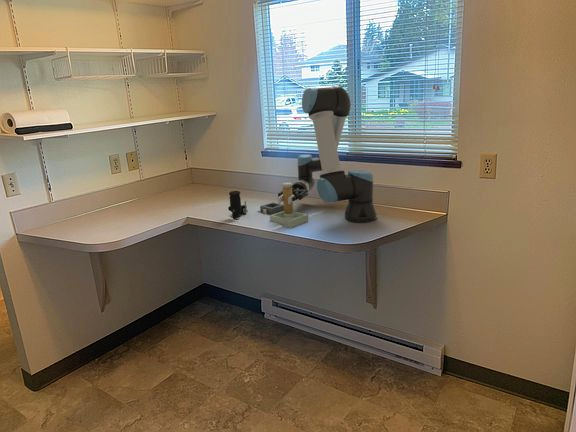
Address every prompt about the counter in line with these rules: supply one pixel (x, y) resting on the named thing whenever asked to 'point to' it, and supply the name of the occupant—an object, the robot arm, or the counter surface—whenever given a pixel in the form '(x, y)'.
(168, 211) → the counter surface
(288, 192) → the cylinder
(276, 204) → the socket block
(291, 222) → the parts tray
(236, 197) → the scope
